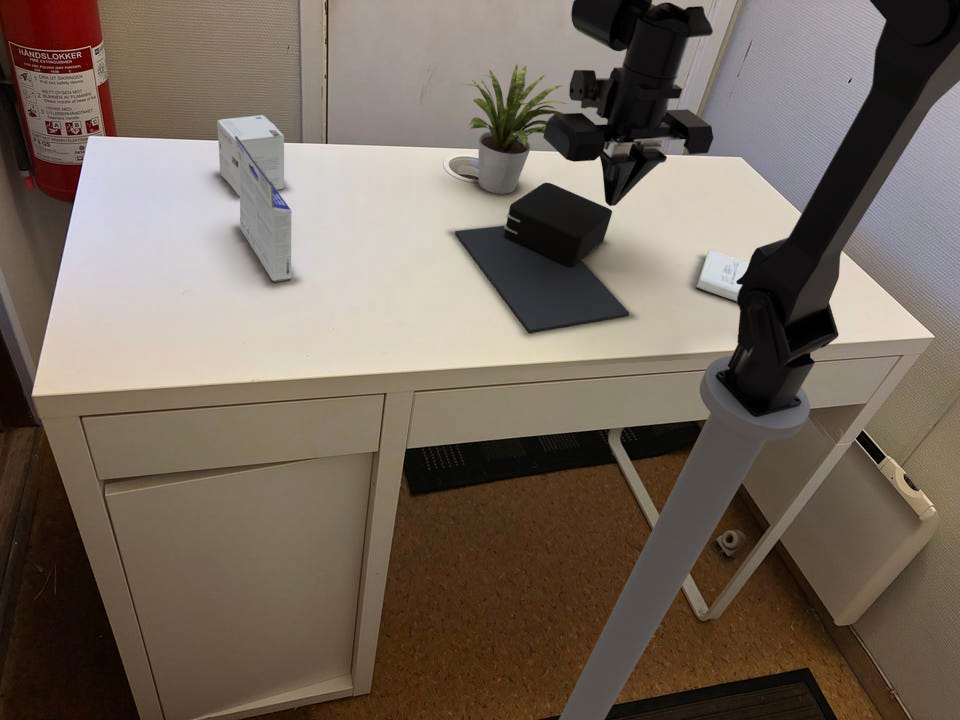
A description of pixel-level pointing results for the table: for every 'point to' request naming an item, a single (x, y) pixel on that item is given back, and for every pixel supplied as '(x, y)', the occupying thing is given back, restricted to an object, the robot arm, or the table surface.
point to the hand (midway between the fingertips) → (610, 203)
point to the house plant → (507, 132)
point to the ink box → (264, 217)
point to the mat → (540, 283)
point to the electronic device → (557, 223)
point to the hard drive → (722, 275)
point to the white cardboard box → (251, 148)
